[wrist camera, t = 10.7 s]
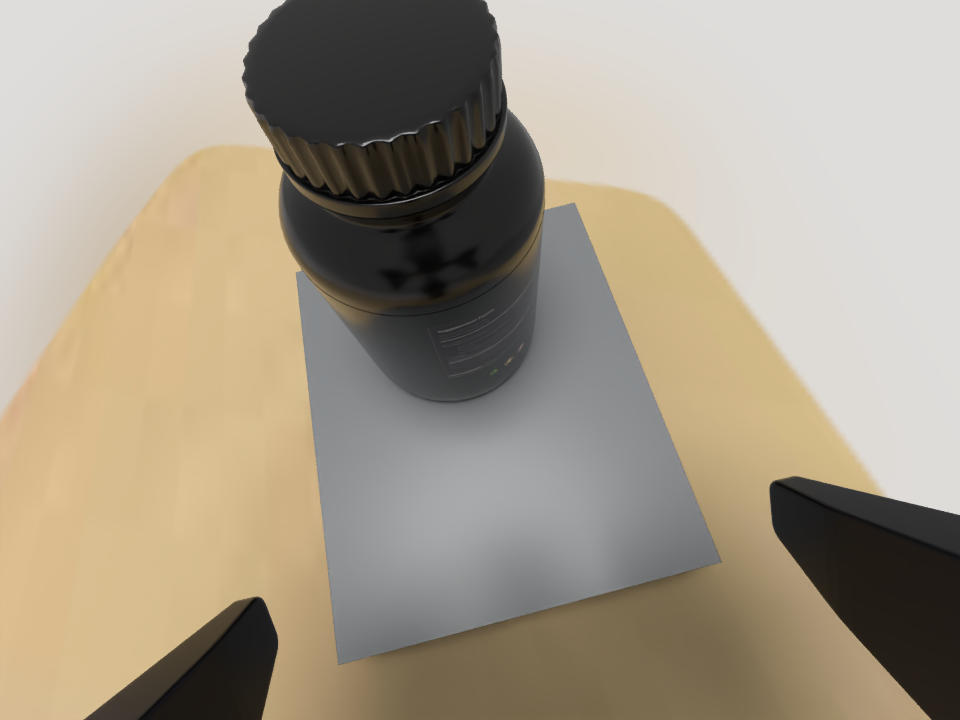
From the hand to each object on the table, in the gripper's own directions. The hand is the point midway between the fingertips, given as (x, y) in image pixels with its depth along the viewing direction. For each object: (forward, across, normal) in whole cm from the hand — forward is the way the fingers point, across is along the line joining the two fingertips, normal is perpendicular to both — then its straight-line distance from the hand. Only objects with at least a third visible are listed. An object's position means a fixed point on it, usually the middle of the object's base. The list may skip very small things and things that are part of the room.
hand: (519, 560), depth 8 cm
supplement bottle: (+12, +1, -2) cm, 13 cm away
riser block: (+13, 0, +2) cm, 13 cm away
